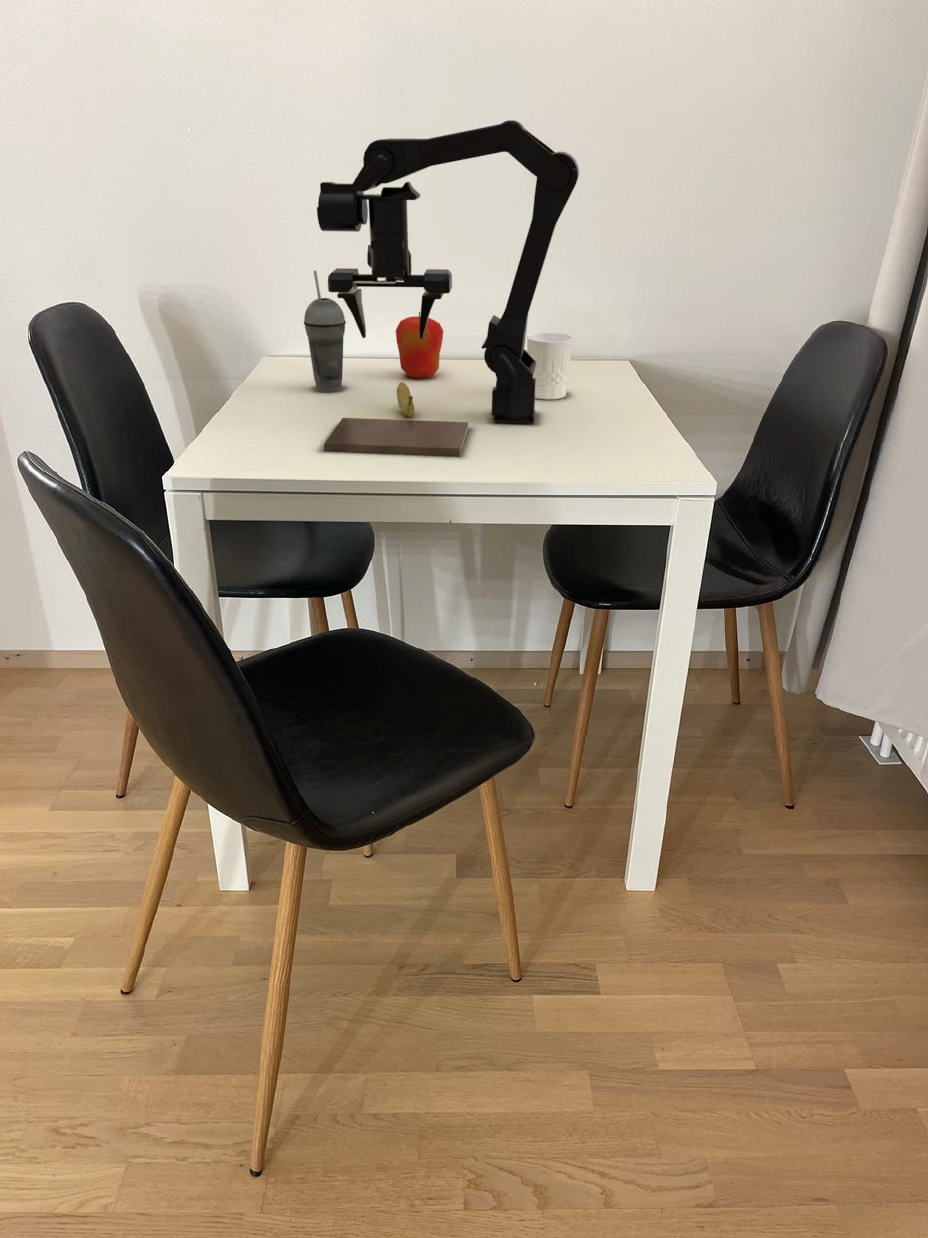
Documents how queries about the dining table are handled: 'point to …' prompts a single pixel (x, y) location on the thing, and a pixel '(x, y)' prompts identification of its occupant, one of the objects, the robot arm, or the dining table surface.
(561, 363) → the white cup
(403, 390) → the banana
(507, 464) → the dining table surface
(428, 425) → the walnut board
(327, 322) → the beverage cup
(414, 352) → the apple
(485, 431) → the dining table surface
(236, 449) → the dining table surface
